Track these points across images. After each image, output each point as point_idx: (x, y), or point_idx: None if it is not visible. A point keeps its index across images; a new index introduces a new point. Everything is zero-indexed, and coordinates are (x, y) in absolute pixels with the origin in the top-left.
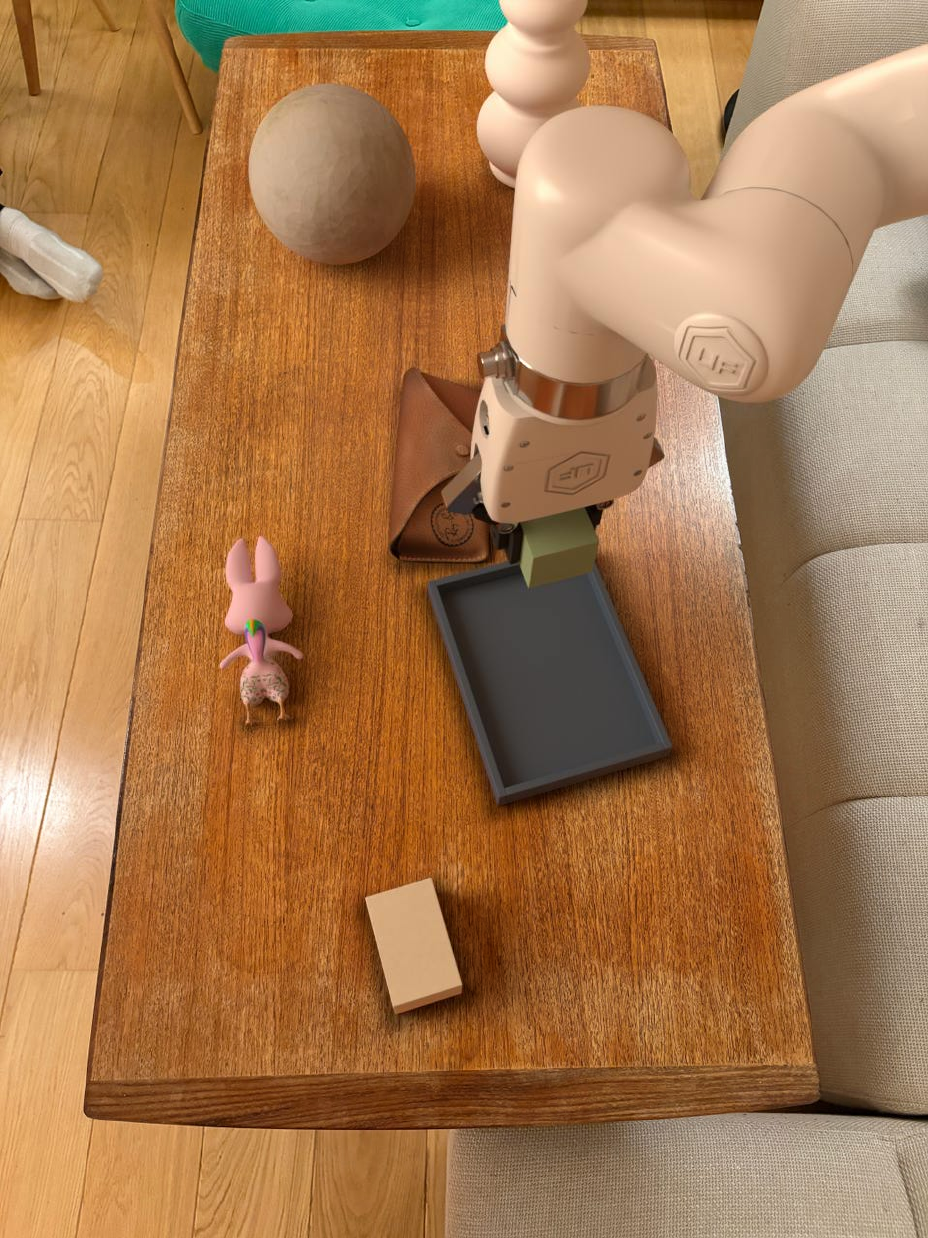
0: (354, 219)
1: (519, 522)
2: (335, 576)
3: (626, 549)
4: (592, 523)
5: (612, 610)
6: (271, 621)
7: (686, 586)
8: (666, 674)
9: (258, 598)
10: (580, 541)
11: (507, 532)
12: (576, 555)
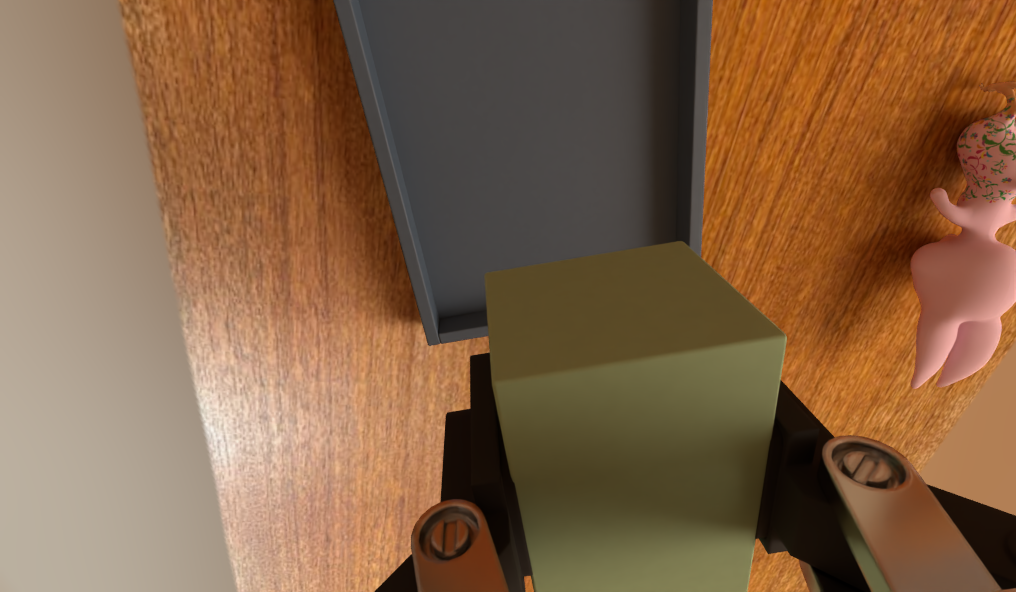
0: None
1: (768, 467)
2: (800, 320)
3: (360, 325)
4: (490, 439)
5: (398, 216)
6: (974, 255)
7: (259, 254)
8: (304, 82)
9: (997, 294)
10: (572, 389)
11: (845, 441)
12: (573, 330)
